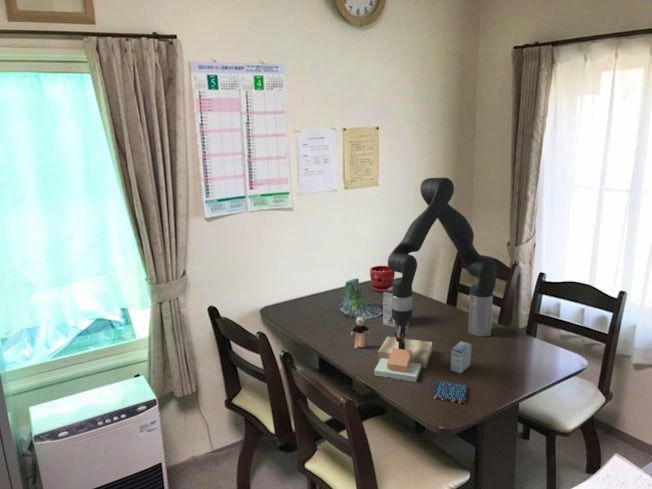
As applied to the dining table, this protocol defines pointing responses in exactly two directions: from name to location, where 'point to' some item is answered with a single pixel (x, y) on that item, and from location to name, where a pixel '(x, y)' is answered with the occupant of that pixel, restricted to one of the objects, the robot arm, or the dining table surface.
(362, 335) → the grandmother figurine
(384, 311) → the coffee box
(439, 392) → the woven mat
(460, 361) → the medicine box
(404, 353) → the tile
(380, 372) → the mat
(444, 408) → the dining table surface
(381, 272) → the plant pot
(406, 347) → the beige flat block
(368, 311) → the tree stump
